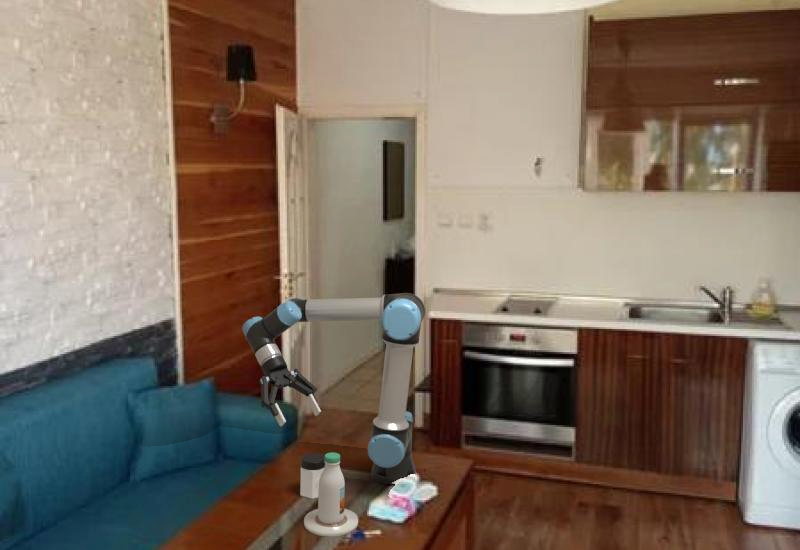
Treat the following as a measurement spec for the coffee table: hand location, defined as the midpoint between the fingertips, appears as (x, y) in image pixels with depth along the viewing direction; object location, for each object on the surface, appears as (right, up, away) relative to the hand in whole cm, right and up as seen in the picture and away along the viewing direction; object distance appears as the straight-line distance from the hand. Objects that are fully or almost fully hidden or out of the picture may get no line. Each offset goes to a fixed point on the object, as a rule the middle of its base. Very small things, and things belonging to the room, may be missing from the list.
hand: (301, 418), depth 235 cm
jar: (+2, -26, +12) cm, 29 cm away
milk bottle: (+10, -28, -8) cm, 31 cm away
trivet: (+10, -29, -8) cm, 32 cm away
